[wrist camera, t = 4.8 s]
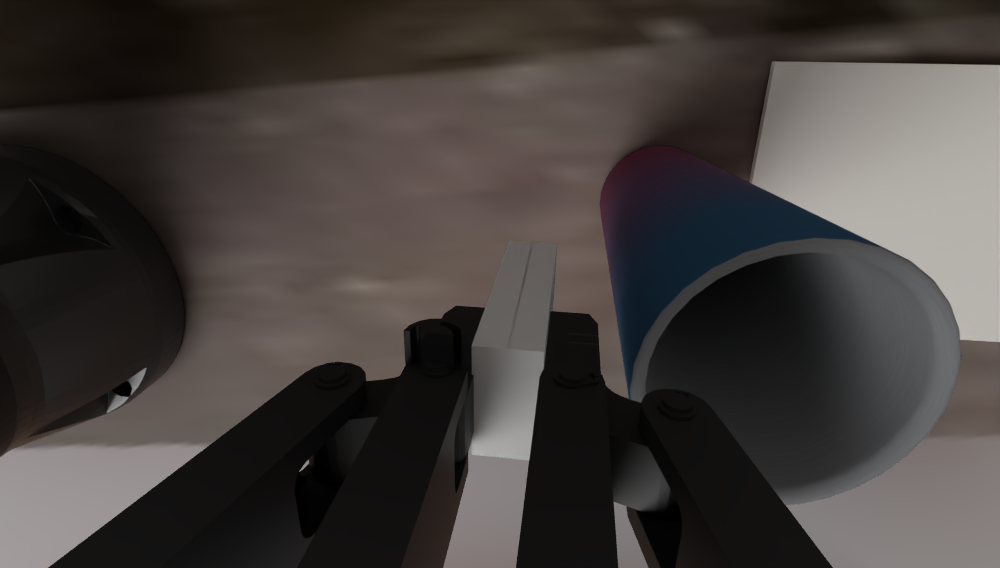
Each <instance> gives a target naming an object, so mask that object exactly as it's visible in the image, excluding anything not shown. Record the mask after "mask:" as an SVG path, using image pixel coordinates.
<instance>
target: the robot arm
mask: <svg viewBox="0 0 1000 568" xmlns="http://www.w3.org/2000/svg"><path fill="white" fill-rule="evenodd" d="M556 251H557V244H556V243H539V242H522V241H509V243H508V245H507V248H506V251H505V254H504V257H503V259H502V262H501V265H500V268H499V271H498V273H497V276H496V279H495V282H494V285H493V287H492V290H491V293H490V296H489V299H488V301H487V304H486V307H485V308H480V307H466V306H455V307H454V308H452V309H451V310H449V311H448V312H446V313H445V314H444V315H443V317H442V319H427V320H422V321H418V322H416V323H413V324H411V325H409V326H408V327H407V328H406V329H405V330H404V345H405V362H406V366H405V368H404V370H403V371H402V373H401V375H400V376H399V377H395V378H390V379H385V380H375V381H366V374H365V372H364V371H363V369H362V368H361V367H359V366H357V365H354V364H352V363H343V362H335V363H333V362H332V363H326V364H324V365H320V366H317V367H314V368H313V369H311V370H309V371H307V372H305V373H304V374H303V375H302V376H300V377H299V378H298V379H296V380H295V381H294V382H292V383H291V384H290V385H288V386H287V387H286V388H284V389H283V390H282V391H280V392H279V393H278V394H276V395H275V396H274V397H273V398H271V399H270V400H269V401H267V402H266V403H265V404H263V405H262V406H261V407H259V408H258V409H257V410H255V411H254V412H253V413H251V414H250V415H249V416H248V417H246V418H245V419H244V420H242V421H241V422H240V423H238V424H237V425H236V426H234V427H233V428H232V429H230V430H229V431H228V432H226V433H225V434H224V435H222V436H221V437H220V438H219V439H217V440H216V441H215V442H213V443H212V444H211V445H209V446H208V447H207V448H205V449H204V450H203V451H202V452H200V453H199V454H197V455H196V456H195V457H194V458H192V459H191V460H190V461H188V462H187V463H186V464H185V465H183V466H182V467H180V468H179V469H178V470H176V471H175V472H174V473H173V474H171V475H170V476H168V477H167V478H166V479H165V480H163V481H162V482H161V483H159V484H158V485H157V486H155V487H154V488H153V489H151V490H150V491H149V492H147V493H146V494H145V495H143V496H142V497H141V498H140V499H138V500H137V501H136V502H134V503H133V504H132V505H131V506H129V507H128V508H126V509H125V510H124V511H122V512H121V513H120V514H119V515H117V516H116V517H114V518H113V519H112V520H111V521H109V522H108V523H107V524H105V525H104V526H103V527H101V528H100V529H99V530H97V531H96V532H95V533H93V534H92V535H91V536H89V537H88V538H87V539H86V540H84V541H83V542H82V543H80V544H79V545H78V546H76V547H75V548H74V549H73V550H71V551H70V552H68V553H67V554H66V555H64V556H63V557H62V558H60V559H59V560H58V561H57V562H55V563H54V564H53V565H51V566H50V567H49V568H443V566H444V562H445V558H446V554H447V550H448V546H449V542H450V539H451V535H452V531H453V527H454V523H455V520H456V516H457V512H458V508H459V504H460V500H461V497H462V493H463V489H464V485H465V481H466V477H467V474H468V450H469V447H470V443H471V439H472V455H482V456H492V457H501V458H511V459H522V460H529V467H528V476H527V484H526V492H525V500H524V508H523V517H522V524H521V532H520V541H519V548H518V556H517V564H516V568H618V559H617V544H616V530H615V516H614V504H613V503H614V502H617V503H620V504H622V505H625V506H627V513H628V518H629V521H630V523H631V526H632V528H633V530H634V533H635V535H636V538H637V540H638V543H639V545H640V548H641V550H642V553H643V555H644V557H645V560H646V562H647V565H648V567H649V568H833V567H832V566H831V565H830V563H829V562H828V561H827V560H826V558H825V557H824V556H823V554H822V553H821V552H820V550H819V549H818V548H817V546H816V545H815V544H814V542H813V541H812V540H811V538H810V537H809V536H808V535H807V533H806V532H805V530H804V529H803V528H802V526H801V525H800V524H799V523H798V521H797V520H796V519H795V517H794V516H793V515H792V513H791V512H790V511H789V509H788V508H787V507H786V505H785V504H784V503H783V501H782V500H781V499H780V497H779V496H778V495H777V493H776V492H775V491H774V489H773V488H772V487H771V485H770V484H769V483H768V482H767V480H766V479H765V478H764V476H763V475H762V474H761V472H760V471H759V470H758V468H757V467H756V466H755V464H754V463H753V462H752V460H751V459H750V458H749V456H748V455H747V454H746V452H745V451H744V450H743V448H742V447H741V446H740V445H739V443H738V442H737V441H736V439H735V438H734V437H733V435H732V434H731V433H730V431H729V430H728V429H727V427H726V426H725V425H724V423H723V422H722V421H721V419H720V418H719V417H718V415H717V414H716V413H715V411H714V410H713V409H712V408H711V406H710V405H708V404H707V403H706V402H705V401H704V400H703V399H701V398H700V397H698V396H696V395H694V394H692V393H689V392H686V391H682V390H678V389H659V390H653V391H651V392H649V393H648V394H646V395H645V396H644V398H643V400H642V402H641V403H640V402H637V401H633V400H630V399H627V398H624V397H622V396H619V395H618V394H616V393H614V392H612V391H611V390H610V389H609V388H607V387H606V385H605V381H604V379H603V376H602V375H601V370H600V353H599V337H598V324H597V322H596V321H595V320H594V319H593V318H592V317H591V316H590V315H589V314H582V313H568V312H554V311H553V300H554V284H555V267H556ZM183 328H184V308H183V300H182V295H181V290H180V287H179V283H178V280H177V277H176V274H175V271H174V269H173V267H172V264H171V262H170V260H169V258H168V256H167V254H166V252H165V250H164V249H163V247H162V245H161V243H160V242H159V240H158V239H157V237H156V236H155V234H154V233H153V231H152V230H151V229H150V227H149V226H148V225H147V223H146V222H145V221H144V220H143V219H142V217H141V216H140V215H139V214H138V213H137V212H136V211H135V209H134V208H133V207H132V206H131V205H130V204H129V203H128V202H127V201H126V200H125V199H123V198H122V197H121V196H120V195H119V194H118V193H117V192H116V191H114V190H113V189H112V188H111V187H109V186H108V185H107V184H105V183H104V182H103V181H101V180H100V179H99V178H97V177H96V176H94V175H93V174H91V173H89V172H88V171H86V170H84V169H83V168H81V167H79V166H77V165H75V164H73V163H71V162H69V161H67V160H65V159H63V158H60V157H58V156H55V155H52V154H50V153H46V152H43V151H40V150H36V149H31V148H27V147H20V146H10V145H0V457H1V456H2V455H4V454H5V453H7V452H8V451H10V450H12V449H14V448H17V447H20V446H22V445H25V444H28V443H30V442H33V441H36V440H38V439H41V438H44V437H46V436H49V435H51V434H54V433H57V432H59V431H62V430H65V429H67V428H70V427H73V426H75V425H78V424H80V423H83V422H86V421H88V420H91V419H94V418H96V417H99V416H102V415H104V414H107V413H110V412H112V411H114V410H116V409H118V408H120V407H122V406H123V405H125V404H127V403H128V402H130V401H131V400H133V399H134V398H136V397H137V396H138V395H139V394H140V393H142V392H143V391H144V390H145V389H146V388H148V387H149V386H150V385H151V384H153V383H154V382H155V381H156V380H157V379H158V378H160V377H161V376H162V375H163V374H164V373H165V372H166V370H167V369H168V368H169V367H170V365H171V364H172V362H173V360H174V359H175V357H176V355H177V352H178V350H179V347H180V344H181V340H182V336H183ZM308 459H309V464H308V465H307V466H306V467H305V468H304V469H303V470H302V471H300V472H299V470H300V469H301V468H302V466H303V465H304V464H305V462H306V461H307V460H308ZM613 501H614V502H613Z"/></svg>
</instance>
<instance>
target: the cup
mask: <svg viewBox="0 0 1000 568" xmlns="http://www.w3.org/2000/svg"><path fill="white" fill-rule="evenodd" d="M600 210H601V218H602V225H603V231H604V238H605V245H606V251H607V258H608V264H609V271H610V277H611V284H612V290H613V297H614V304H615V310H616V317H617V323H618V330H619V336H620V343H621V349H622V356H623V363H624V369H625V376H626V382H627V389H628V395H629V399H630V400H633V401H637V402H640V403H641V402H642V400H643V398H644V396H645V395H646V394H648V393H649V392H651V391H653V390H659V389H678V390H682V391H686V392H689V393H692V394H694V395H696V396H698V397H700V398H701V399H703V400H704V401H705V402H706V403H707V404H708V405H710V406H711V408H712V409H713V410H714V411H715V413H716V414H717V415H718V417H719V418H720V419H721V421H722V422H723V423H724V425H725V426H726V427H727V429H728V430H729V431H730V433H731V434H732V435H733V437H734V438H735V439H736V441H737V442H738V443H739V445H740V446H741V447H742V448H743V450H744V451H745V452H746V454H747V455H748V456H749V458H750V459H751V460H752V462H753V463H754V464H755V466H756V467H757V468H758V470H759V471H760V472H761V474H762V475H763V476H764V478H765V479H766V480H767V482H768V483H769V484H770V485H771V487H772V488H773V489H774V491H775V492H776V493H777V495H778V496H779V497H780V499H781V500H782V501H783V503H784V504H785V505H794V504H802V503H807V502H811V501H816V500H820V499H825V498H829V497H832V496H835V495H837V494H840V493H843V492H845V491H848V490H851V489H853V488H856V487H858V486H860V485H862V484H864V483H866V482H867V481H870V480H871V479H873V478H875V477H877V476H879V475H881V474H883V473H884V472H885V471H887V470H888V469H890V468H891V467H892V466H894V465H895V464H896V463H898V462H899V461H900V460H902V459H903V458H904V457H906V456H907V455H908V454H909V453H910V452H911V451H912V450H913V449H914V448H915V447H916V446H917V445H918V444H919V443H920V442H921V441H922V440H923V439H924V438H925V437H926V436H927V435H928V434H929V433H930V431H931V430H932V428H933V427H934V425H935V424H936V422H937V421H938V420H939V418H940V417H941V415H942V414H943V412H944V411H945V409H946V407H947V404H948V402H949V400H950V397H951V395H952V393H953V390H954V388H955V386H956V382H957V377H958V371H959V366H960V360H961V346H960V332H959V327H958V324H957V322H956V319H955V316H954V313H953V310H952V307H951V305H950V303H949V301H948V300H947V298H946V297H945V295H944V294H943V293H942V291H941V290H940V288H939V287H938V285H937V284H936V283H935V281H934V280H933V279H932V278H931V277H929V276H928V275H927V274H926V273H925V272H923V271H922V270H921V269H920V268H919V267H917V266H916V265H915V264H914V263H913V262H912V261H910V260H908V259H906V258H904V257H902V256H900V255H898V254H896V253H894V252H892V251H890V250H888V249H886V248H884V247H882V246H879V245H877V244H875V243H873V242H871V241H869V240H867V239H865V238H863V237H861V236H859V235H857V234H855V233H853V232H851V231H848V230H846V229H844V228H842V227H840V226H838V225H836V224H834V223H832V222H830V221H828V220H826V219H824V218H822V217H820V216H818V215H815V214H813V213H811V212H809V211H807V210H805V209H803V208H801V207H799V206H797V205H795V204H793V203H791V202H789V201H787V200H785V199H782V198H780V197H778V196H776V195H774V194H772V193H770V192H768V191H766V190H764V189H762V188H760V187H758V186H756V185H754V184H751V183H749V182H747V181H745V180H743V179H741V178H739V177H737V176H735V175H733V174H731V173H729V172H727V171H725V170H723V169H721V168H718V167H716V166H714V165H712V164H710V163H708V162H706V161H704V160H702V159H700V158H698V157H696V156H694V155H692V154H690V153H688V152H685V151H683V150H681V149H679V148H675V147H671V146H652V147H646V148H643V149H640V150H638V151H635V152H633V153H632V154H630V155H628V156H626V157H625V158H624V159H623V160H621V161H620V162H619V163H618V164H617V165H616V166H615V167H614V168H613V170H612V171H611V172H610V173H609V175H608V177H607V179H606V181H605V183H604V185H603V188H602V192H601V198H600Z"/></svg>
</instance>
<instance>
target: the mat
mask: <svg viewBox="0 0 1000 568" xmlns="http://www.w3.org/2000/svg"><path fill="white" fill-rule="evenodd" d="M749 183H751V184H754V185H756V186H758V187H760V188H762V189H764V190H766V191H768V192H770V193H772V194H774V195H776V196H778V197H780V198H782V199H785V200H787V201H789V202H791V203H793V204H795V205H797V206H799V207H801V208H803V209H805V210H807V211H809V212H811V213H813V214H815V215H818V216H820V217H822V218H824V219H826V220H828V221H830V222H832V223H834V224H836V225H838V226H840V227H842V228H844V229H846V230H848V231H851V232H853V233H855V234H857V235H859V236H861V237H863V238H865V239H867V240H869V241H871V242H873V243H875V244H877V245H879V246H882V247H884V248H886V249H888V250H890V251H892V252H894V253H896V254H898V255H900V256H902V257H904V258H906V259H908V260H910V261H912V262H913V263H914V264H915V265H916V266H917V267H919V268H920V269H921V270H922V271H923V272H925V273H926V274H927V275H928V276H929V277H931V278H932V279H933V280H934V281H935V283H936V284H937V285H938V287H939V288H940V290H941V291H942V293H943V294H944V295H945V297H946V298H947V300H948V301H949V303H950V305H951V307H952V310H953V313H954V316H955V319H956V322H957V324H958V327H959V332H960V340H976V341H992V342H1000V65H976V64H912V63H848V62H784V61H772V64H771V69H770V74H769V79H768V85H767V90H766V95H765V100H764V106H763V111H762V116H761V122H760V127H759V132H758V137H757V143H756V148H755V153H754V158H753V164H752V169H751V174H750V179H749Z"/></svg>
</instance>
